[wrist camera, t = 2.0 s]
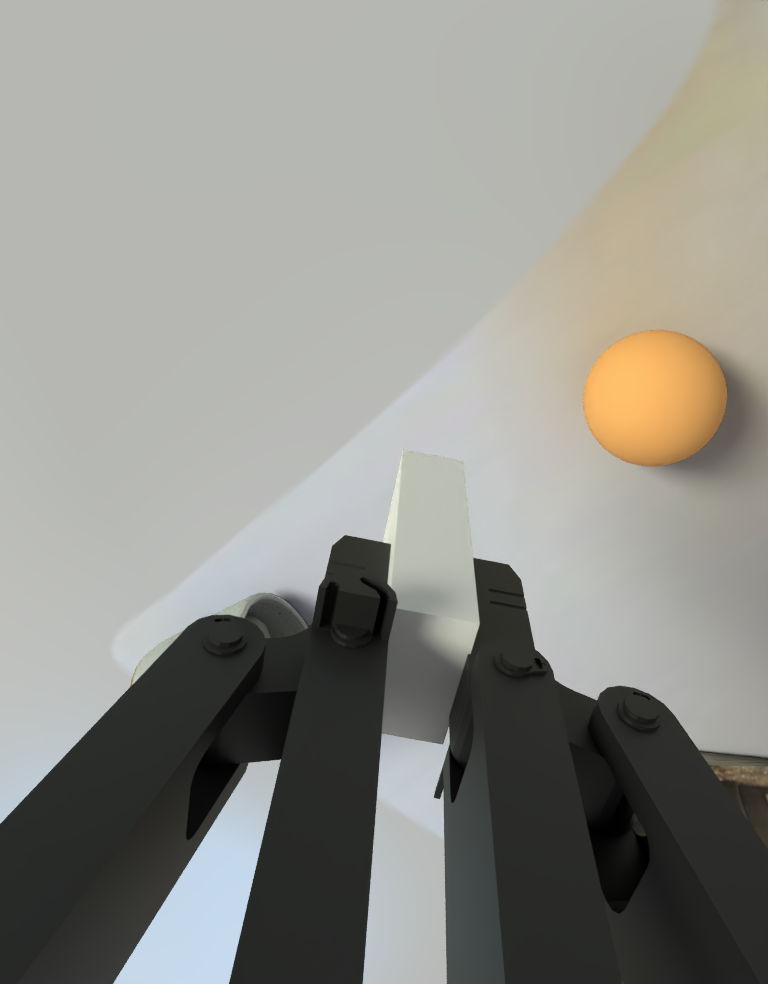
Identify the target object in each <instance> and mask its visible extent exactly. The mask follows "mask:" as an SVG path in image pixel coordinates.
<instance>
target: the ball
mask: <svg viewBox="0 0 768 984" xmlns="http://www.w3.org/2000/svg"><path fill="white" fill-rule="evenodd" d="M726 405H727V386H726V381H725V377H724V374H723V372H722V370H721V367H720V365H719V363H718V362H717V360H716V359H715V357H714V356H713V355H712V354H711V353H710V352H709V350H708V349H707V348H705V347H704V346H703V345H702V344H700V343H699V342H697V341H696V340H694V339H692V338H690V337H688V336H686V335H684V334H680V333H677V332H672V331H665V330H651V331H644V332H640V333H636V334H633V335H631V336H628V337H626V338H624V339H622V340H620V341H618V342H617V343H615V344H614V345H612V346H611V347H610V348H609V349H607V350H606V351H605V352H604V353H603V354H602V355H601V356H600V357H599V359H598V360H597V362H596V363H595V364H594V366H593V368H592V370H591V371H590V373H589V376H588V378H587V381H586V384H585V388H584V396H583V408H584V414H585V418H586V421H587V424H588V427H589V429H590V431H591V433H592V434H593V436H594V437H595V438H596V440H597V441H598V442H599V444H600V445H601V446H602V447H603V448H604V449H606V450H607V451H608V452H609V453H611V454H612V455H614V456H616V457H617V458H619V459H621V460H623V461H626V462H629V463H632V464H636V465H641V466H662V465H668V464H673V463H676V462H679V461H681V460H684V459H686V458H688V457H690V456H691V455H693V454H695V453H696V452H697V451H699V450H700V449H701V448H703V447H704V446H705V445H706V444H707V443H708V442H709V441H710V439H711V438H712V437H713V436H714V434H715V433H716V431H717V430H718V428H719V426H720V424H721V422H722V419H723V416H724V414H725V410H726Z"/></svg>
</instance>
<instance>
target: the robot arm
mask: <svg viewBox="0 0 768 984" xmlns="http://www.w3.org/2000/svg"><path fill="white" fill-rule="evenodd" d="M448 727H449V729H450V745H449V748H448V751H447V754H446V758H445V761H444V764H443V767H442V771H441V774H440V777H439V780H438V784H437V787H436V791H435V795H434V798H437V799H440V797H441V794H442V791H443V789H444V841H445V898H446V956H447V984H622V981H623V984H768V848H767V847H766V845H765V844H764V843H763V841H762V840H761V838H760V837H759V835H758V834H757V833H756V831H755V830H754V828H753V827H752V825H751V824H750V823H749V821H748V820H747V818H746V817H745V815H744V814H743V813H742V811H741V810H740V808H739V807H738V806H737V804H736V803H735V801H734V800H733V798H732V797H731V796H730V794H729V793H728V791H727V790H726V788H725V787H724V786H723V784H722V783H721V781H720V780H719V778H718V777H717V776H716V774H715V773H714V771H713V770H712V768H711V767H710V766H709V764H708V763H707V761H706V760H705V758H704V757H703V756H702V754H701V753H700V751H699V750H698V748H697V747H696V746H695V744H694V743H693V741H692V740H691V738H690V737H689V736H688V734H687V733H686V731H685V730H684V729H683V727H682V726H681V724H680V723H679V721H678V720H677V719H676V717H675V716H674V714H673V713H672V712H671V711H670V710H669V709H668V708H667V707H666V706H665V705H664V704H663V703H662V702H660V701H659V700H657V699H656V698H654V697H653V696H651V695H650V694H648V693H645V692H643V691H640V690H638V689H635V688H631V687H625V686H615V687H609V688H607V689H605V690H604V691H603V692H602V693H600V695H599V698H598V700H595V699H592V698H590V697H587V696H585V695H583V694H580V693H578V692H575V691H573V690H571V689H569V688H567V687H565V686H563V685H562V684H560V683H559V682H557V681H556V680H555V678H554V674H553V670H552V668H551V666H550V664H549V662H548V661H547V660H546V659H545V658H544V657H543V656H542V655H541V654H540V653H539V652H538V651H536V650H535V647H534V642H533V637H532V632H531V627H530V622H529V617H528V612H527V611H526V603H525V598H524V593H523V588H522V583H521V579H520V578H519V577H518V576H517V574H516V573H515V572H514V571H513V569H512V568H511V567H510V566H509V565H508V564H502V563H497V562H492V561H487V560H481V559H476V558H473V553H472V543H471V533H470V523H469V513H468V503H467V493H466V483H465V473H464V463H463V461H459V460H454V459H449V458H444V457H439V456H434V455H429V454H424V453H418V452H413V451H408V450H403V452H402V457H401V461H400V466H399V470H398V475H397V480H396V484H395V489H394V493H393V498H392V503H391V507H390V512H389V517H388V521H387V526H386V530H385V535H384V540H383V542H378V541H373V540H367V539H362V538H357V537H352V536H347V535H345V536H343V537H342V538H341V539H340V540H339V541H338V542H336V543H335V544H334V545H333V546H332V549H331V554H330V558H329V563H328V567H327V571H326V575H325V579H324V580H323V581H322V583H321V584H320V586H319V589H318V595H317V601H316V606H315V612H314V618H313V623H312V624H311V625H310V626H309V627H308V628H307V629H305V630H304V631H302V632H300V633H298V634H295V635H291V636H288V637H279V638H265V636H264V633H263V632H262V631H261V630H260V628H259V627H258V626H257V625H256V624H254V623H252V622H250V621H249V620H247V619H245V618H242V617H237V616H233V615H211V616H208V617H204V618H201V619H198V620H197V621H195V622H194V623H192V624H191V625H189V626H188V627H187V628H186V629H185V630H184V631H183V632H182V633H181V634H180V635H179V636H178V637H177V638H176V639H175V641H174V642H173V643H172V644H171V645H170V646H169V647H168V648H167V649H166V650H165V651H164V652H163V653H162V654H161V655H160V656H159V657H158V658H157V659H156V661H155V662H154V663H153V664H152V665H151V666H150V667H149V668H148V669H147V670H146V671H145V672H144V673H143V674H142V675H141V676H140V677H139V678H138V679H137V681H136V682H135V683H134V684H133V685H132V686H131V687H130V688H129V689H128V690H127V691H126V692H125V693H124V694H123V695H122V696H121V697H120V699H118V701H117V702H116V703H115V704H114V705H113V706H112V707H111V708H110V709H109V710H108V711H107V712H106V713H105V714H104V715H103V716H102V717H101V719H100V720H99V721H98V722H97V723H96V724H95V725H94V726H93V727H92V728H91V729H90V730H89V731H88V732H87V733H86V734H85V735H84V736H83V737H82V738H81V740H80V741H79V742H78V743H77V744H76V745H75V746H74V747H73V748H72V749H71V750H70V751H69V752H68V753H67V754H66V755H65V756H64V757H63V758H62V760H61V761H60V762H59V763H58V764H57V765H56V766H55V767H54V768H53V769H52V770H51V771H50V772H49V773H48V774H47V775H46V776H45V777H44V779H43V780H42V781H41V782H40V783H39V784H38V785H37V786H36V787H35V788H34V789H33V790H32V791H31V792H30V793H29V794H28V796H26V797H25V798H24V800H23V801H22V802H21V803H20V804H19V805H18V806H17V807H16V808H15V809H14V810H13V811H12V812H11V813H10V814H9V815H8V816H7V817H6V819H5V820H4V821H3V822H2V823H1V824H0V984H113V983H114V981H115V979H116V978H117V976H118V975H119V973H120V971H121V970H122V968H123V967H124V965H125V963H126V962H127V960H128V959H129V957H130V956H131V954H132V952H133V950H134V949H135V947H136V946H137V944H138V943H139V941H140V939H141V938H142V936H143V935H144V933H145V931H146V930H147V928H148V926H149V925H150V924H151V922H152V920H153V919H154V917H155V915H156V914H157V912H158V911H159V909H160V908H161V906H162V904H163V903H164V901H165V900H166V898H167V896H168V895H169V893H170V892H171V890H172V888H173V887H174V885H175V884H176V882H177V880H178V878H179V877H180V876H181V874H182V872H183V870H184V869H185V868H186V866H187V864H188V863H189V861H190V860H191V858H192V856H193V855H194V853H195V852H196V850H197V848H198V847H199V845H200V844H201V842H202V840H203V839H204V837H205V836H206V834H207V832H208V831H209V829H210V828H211V826H212V824H213V823H214V821H215V820H216V818H217V816H218V815H219V813H220V812H221V810H222V808H223V807H224V805H225V804H226V802H227V800H228V799H229V797H230V796H231V794H232V792H233V790H234V789H235V788H236V786H237V784H238V783H239V781H240V780H241V778H242V776H243V775H244V773H245V771H246V769H247V766H248V763H249V762H260V761H270V760H280V759H281V762H280V767H279V771H278V775H277V780H276V784H275V788H274V793H273V797H272V801H271V806H270V810H269V815H268V819H267V823H266V827H265V831H264V836H263V840H262V845H261V848H260V853H259V857H258V861H257V866H256V870H255V874H254V879H253V883H252V887H251V892H250V896H249V900H248V904H247V909H246V913H245V918H244V922H243V926H242V931H241V935H240V939H239V944H238V948H237V952H236V957H235V961H234V965H233V969H232V974H231V978H230V982H229V984H362V983H363V971H364V958H365V944H366V931H367V918H368V905H369V892H370V879H371V866H372V853H373V839H374V826H375V813H376V800H377V787H378V774H379V761H380V747H381V734H382V733H383V734H388V735H394V736H399V737H405V738H410V739H416V740H421V741H427V742H432V743H438V744H443V743H444V740H445V736H446V733H447V730H448Z"/></svg>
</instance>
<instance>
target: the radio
mask: <svg viewBox="0 0 768 984" xmlns="http://www.w3.org/2000/svg"><path fill="white" fill-rule="evenodd" d="M700 753H701V754H702V756H703V757H704V758H705V760H706V761H707V763H708V764H709V766H710V767H711V768H712V770H713V771H714V773H715V774H716V776H717V777H718V778H719V780H720V781H721V783H722V784H723V786H724V787H725V788H726V790H727V791H728V793H729V794H730V796H731V797H732V798H733V800H734V801H735V803H736V804H737V806H738V807H739V808H740V810H741V811H742V813H743V814H744V815H745V817H746V818H747V820H748V821H749V823H750V824H751V825H752V827H753V828H754V830H755V831H756V833H757V834H758V835H759V837H760V838H761V840H762V841H763V843H764V844H765V845H766V847H767V848H768V759H762V758H752V757H743V756H734V755H725V754H715V753H706V752H700ZM622 984H623V981H622Z"/></svg>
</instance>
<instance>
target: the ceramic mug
mask: <svg viewBox="0 0 768 984" xmlns="http://www.w3.org/2000/svg"><path fill="white" fill-rule="evenodd" d="M215 615H233V616H237V617H242V618H245V619H247V620H249V621H250V622H252V623H254V624H256V625H257V626H258V627H259V628H260V630H261V631H262V632H263V633H264V636H265V638H279V637H288V636H291V635H295V634H298V633H300V632H302V631H304V630H305V629H307V628H308V626H307V625H306V623H305V621H304V620H303V618H302V617H301V616H300V615H299V614H298V612H297V611H296V610H295V609H294V608H293V607H292V606H291V605H290V604H289V603H287V602H286V601H285V600H283V599H282V598H280V597H278V596H276V595H273V594H270V593H259V594H255V595H252V596H250V597H248V598H246V599H244V600H242V601H241V602H239V603H237V604H235V605H233V606H231V607H229V608H227V609H225V610H223V611H221V612H219V613H217V614H215ZM182 632H183V631H182ZM182 632H180V633H178V634H176V635H174V636H172V637H170V638H169V639H167V640H165V641H163V642H162V643H160V644H159V645H158V646H156V647H155V648H154V649H153V650H151V651H150V652H149V653H148V654H146V655H145V657H144V658H143V659H142V660H141V661H140V663H139V664H138V666H137V667H136V669H135V672H134V675H133V677H132V681H131V686H132V685H133V684H134V683H135V682H136V681H137V679H138V678H139V677H140V676H141V675H142V674H143V673H144V672H145V671H146V670H147V669H148V668H149V667H150V666H151V665H152V664H153V663H154V662H155V661H156V659H157V658H158V657H159V656H160V655H161V654H162V653H163V652H164V651H165V650H166V649H167V648H168V647H169V646H170V645H171V644H172V643H173V642H174V641H175V639H176V638H177V637H178V636H179V635H180V634H181V633H182Z"/></svg>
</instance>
